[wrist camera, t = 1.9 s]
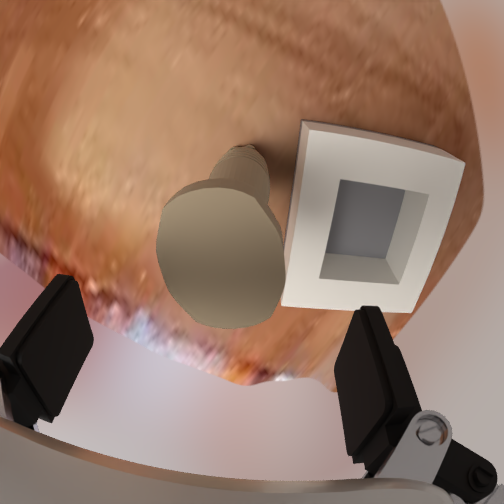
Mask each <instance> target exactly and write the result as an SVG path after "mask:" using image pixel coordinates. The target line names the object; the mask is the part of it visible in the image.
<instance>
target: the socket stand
mask: <svg viewBox="0 0 504 504" xmlns="http://www.w3.org/2000/svg"><path fill="white" fill-rule="evenodd" d="M464 167H465V162H463V161H461V160H460V159H458V158H456V157H454V156H453V155H451V154H449V153H447V152H445V151H444V150H442V149H440V148H438V147H436V146H433V145H429V144H426V143H422V142H418V141H414V140H410V139H406V138H401V137H397V136H393V135H388V134H384V133H379V132H374V131H369V130H364V129H359V128H354V127H348V126H342V125H336V124H330V123H324V122H317V121H310V120H303V119H301V124H300V132H299V140H298V148H297V155H296V163H295V170H294V178H293V185H292V192H291V199H290V206H289V213H288V220H287V227H286V233H285V240H284V247H283V248H284V259H285V270H286V280H285V287H284V290H283V293H282V295H281V306H290V307H303V308H318V309H334V310H352V311H355V310H359V309H360V307H361V306H363V305H365V306H378V307H379V308H380V309H381V312H397V313H412V311H413V309H414V307H415V305H416V302H417V300H418V298H419V296H420V293H421V291H422V289H423V286H424V284H425V282H426V279H427V277H428V275H429V272H430V270H431V267H432V265H433V262H434V260H435V257H436V254H437V252H438V249H439V247H440V244H441V241H442V238H443V235H444V233H445V230H446V227H447V224H448V221H449V218H450V215H451V212H452V209H453V206H454V202H455V199H456V196H457V192H458V189H459V185H460V182H461V178H462V175H463V171H464Z"/></svg>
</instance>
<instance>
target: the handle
mask: <svg viewBox="0 0 504 504" xmlns="http://www.w3.org/2000/svg"><path fill="white" fill-rule="evenodd" d="M269 194H270V178H269V172H268V167H267V165H266V161H265V159H264V157H262V156H261V155H260V154H259V153H258V152H257V151H256V150H255V147H254V146H252V145H247V146H244V147H237V146H234V147H232V148H231V149H230V150H229V151H228V152H227V153H226V154H225V155H223V156H222V158H221V159H220V160H219V161H218V162H217V164H216V166H215V167H214V169H213V171H212V173H211V175H210V178H209V179H208V180H203V181H199V182H195V183H193V184H190V185H188V186H185V187H184V188H183V189H181V190H180V191H178V192H177V193H176V194H175V195H174V196H173V197H172V198H171V199H170V200H169V201H168V202H167V204H166V205H165V206H164V208H163V210H162V215H161V219H160V224H159V229H158V235H157V242H156V253H157V258H158V263H159V266H160V269H161V272H162V275H163V278H164V281H165V283H166V286H167V288H168V290H169V292H170V294H171V295H172V296H173V298H174V299H175V300H176V302H177V303H178V304H179V305H180V306H181V307H182V308H183V309H184V310H185V311H186V312H187V313H188V314H189V315H190V316H191V317H192V318H193V319H194V320H195V321H196V322H198V323H201V324H203V325H206V326H210V327H214V328H222V329H236V328H245V327H249V326H253V325H257V324H259V323H261V322H263V321H265V320H267V319H269V318H270V317H271V316H272V314H273V312H274V310H275V308H276V306H277V304H278V302H279V300H280V298H281V295H282V293H283V290H284V287H285V280H286V270H285V259H284V248H283V238H282V231H281V227H280V225H279V223H278V221H277V220H276V218H275V216H274V214H273V213H272V211H271V209H270V208H269V206H268V200H269Z"/></svg>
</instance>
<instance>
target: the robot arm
mask: <svg viewBox="0 0 504 504" xmlns="http://www.w3.org/2000/svg"><path fill="white" fill-rule="evenodd" d="M93 341H94V337H93V334H92V330H91V327H90V324H89V321H88V317H87V314H86V310H85V307H84V303H83V299H82V295H81V292H80V288H79V284H78V282H77V281H75V279H74V277H73V276H69V275H63V274H57V275H56V276H55V277H54V278H53V280H52V281H51V282H50V283H49V284H48V286H47V287H46V288H45V290H44V291H43V292H42V293H41V294H40V296H39V297H38V298H37V299H36V301H35V302H34V303H33V304H32V306H31V307H30V308H29V309H28V311H27V312H26V313H25V315H24V316H23V317H22V319H21V320H20V321H19V322H18V324H17V325H16V327H15V328H14V329H13V331H12V332H11V333H10V335H9V336H8V338H7V339H6V340H5V342H4V343H3V345H2V346H1V347H0V504H504V485H503V484H501V485H499V486H498V484H497V472H496V469H495V468H494V466H493V465H492V464H491V463H490V462H489V461H488V460H486V459H484V458H483V457H481V456H479V455H478V454H476V453H474V452H473V451H471V450H469V449H468V448H466V447H464V446H463V445H461V444H459V443H458V442H456V441H454V440H453V439H451V438H452V428H451V425H450V423H449V421H448V420H447V419H446V418H445V417H444V416H443V415H441V414H440V413H438V412H436V411H432V410H431V411H430V410H425V411H422V410H421V407H420V404H419V401H418V398H417V395H416V392H415V389H414V386H413V384H412V381H411V378H410V375H409V372H408V370H407V367H406V364H405V361H404V359H403V357H402V354H401V351H400V349H399V347H398V346H396V345H395V344H394V342H393V339H392V337H391V334H390V332H389V329H388V326H387V324H386V322H385V319H384V317H383V314H382V312H381V309H380V308H379V307H378V306H365V305H363V306H361V307H360V309H359V310H355V311H354V314H353V317H352V320H351V322H350V325H349V328H348V331H347V333H346V336H345V339H344V342H343V344H342V347H341V349H340V352H339V355H338V357H337V360H336V362H335V366H334V375H335V380H336V386H337V392H338V398H339V404H340V410H341V416H342V422H343V429H344V435H345V443H346V450H347V454H348V455H349V456H352V458H353V463H354V464H355V463H364V465H365V470H367V471H366V473H365V474H364V476H363V477H362V478H361V479H346V480H326V481H264V480H246V479H234V478H223V477H213V476H206V475H198V474H191V473H184V472H178V471H172V470H167V469H162V468H156V467H151V466H147V465H142V464H137V463H134V462H130V461H126V460H122V459H118V458H114V457H110V456H107V455H103V454H100V453H96V452H93V451H90V450H87V449H83V448H80V447H77V446H74V445H71V444H69V443H66V442H63V441H60V440H57V439H55V438H52V437H49V436H47V435H44V434H42V433H39V429H38V426H37V420H38V418H40V419H42V420H44V421H47V422H50V423H52V422H53V420H54V417H56V416H58V415H59V413H60V412H61V409H62V407H63V405H64V403H65V401H66V399H67V396H68V394H69V392H70V390H71V388H72V386H73V384H74V382H75V380H76V378H77V375H78V373H79V371H80V369H81V367H82V365H83V363H84V361H85V359H86V357H87V355H88V353H89V351H90V350H91V348H92V346H93Z"/></svg>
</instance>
